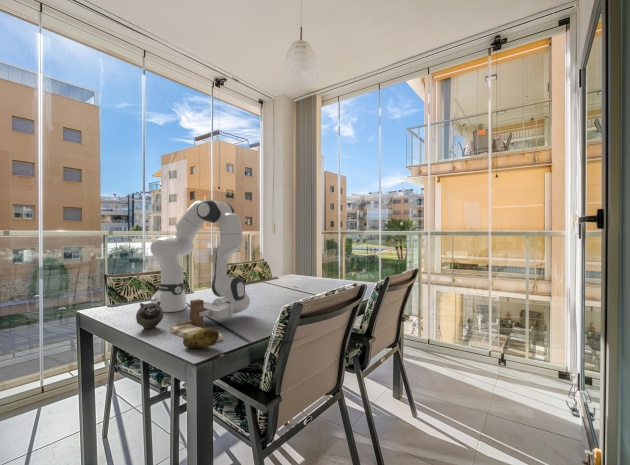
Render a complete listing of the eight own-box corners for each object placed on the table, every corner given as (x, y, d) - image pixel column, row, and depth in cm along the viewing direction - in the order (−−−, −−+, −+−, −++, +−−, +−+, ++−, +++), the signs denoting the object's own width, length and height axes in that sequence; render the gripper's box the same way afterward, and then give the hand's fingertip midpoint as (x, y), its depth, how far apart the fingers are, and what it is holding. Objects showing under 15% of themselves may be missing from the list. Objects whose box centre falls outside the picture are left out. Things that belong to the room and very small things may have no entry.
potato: (198, 342, 124) (198, 321, 124) (222, 349, 117) (222, 327, 117) (179, 348, 116) (180, 326, 116) (204, 356, 110) (204, 333, 110)
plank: (170, 332, 134) (170, 327, 134) (187, 327, 141) (187, 323, 141) (205, 345, 120) (205, 340, 120) (222, 339, 127) (222, 334, 127)
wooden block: (174, 331, 135) (175, 303, 135) (197, 325, 144) (198, 299, 144) (180, 333, 133) (180, 304, 133) (203, 327, 142) (203, 300, 142)
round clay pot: (142, 336, 129) (167, 329, 137) (142, 306, 129) (167, 302, 137) (132, 330, 136) (157, 324, 144) (132, 302, 135) (157, 298, 143)
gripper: (207, 297, 158) (181, 302, 146) (235, 304, 146) (209, 309, 135) (207, 310, 158) (181, 316, 146) (234, 317, 146) (208, 324, 135)
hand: (194, 313), depth 140 cm, fingers closed on wooden block, 4 cm apart
